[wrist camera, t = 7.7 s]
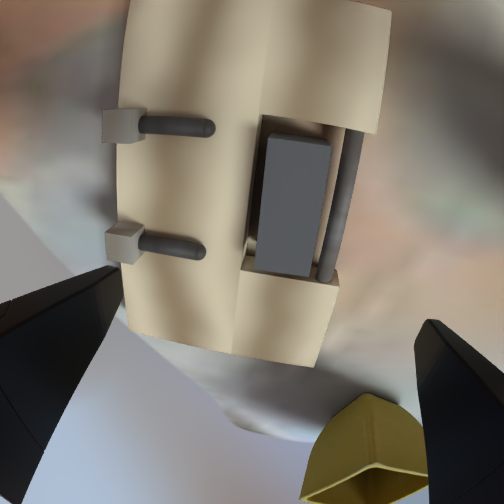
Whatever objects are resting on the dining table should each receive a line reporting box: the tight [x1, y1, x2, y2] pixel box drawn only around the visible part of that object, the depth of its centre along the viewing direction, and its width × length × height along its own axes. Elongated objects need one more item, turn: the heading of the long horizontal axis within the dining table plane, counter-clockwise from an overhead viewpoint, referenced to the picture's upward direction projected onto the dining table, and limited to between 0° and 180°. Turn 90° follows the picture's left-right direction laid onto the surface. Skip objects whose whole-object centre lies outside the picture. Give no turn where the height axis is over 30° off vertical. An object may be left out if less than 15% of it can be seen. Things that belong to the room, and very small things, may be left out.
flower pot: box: [299, 393, 429, 504], centre depth 23 cm, size 9×9×9 cm
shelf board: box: [102, 0, 392, 368], centre depth 17 cm, size 14×23×4 cm, turn 173°
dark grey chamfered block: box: [254, 132, 332, 277], centre depth 17 cm, size 3×7×4 cm, turn 175°
